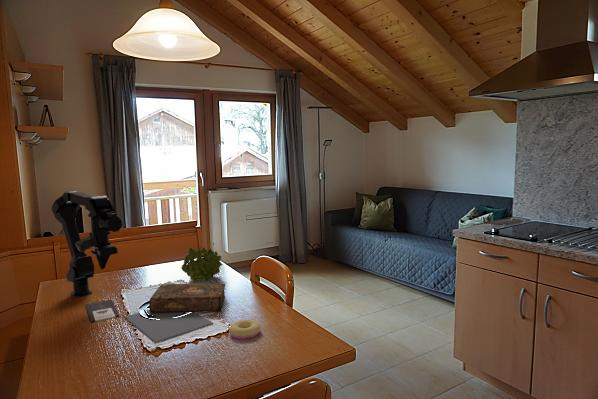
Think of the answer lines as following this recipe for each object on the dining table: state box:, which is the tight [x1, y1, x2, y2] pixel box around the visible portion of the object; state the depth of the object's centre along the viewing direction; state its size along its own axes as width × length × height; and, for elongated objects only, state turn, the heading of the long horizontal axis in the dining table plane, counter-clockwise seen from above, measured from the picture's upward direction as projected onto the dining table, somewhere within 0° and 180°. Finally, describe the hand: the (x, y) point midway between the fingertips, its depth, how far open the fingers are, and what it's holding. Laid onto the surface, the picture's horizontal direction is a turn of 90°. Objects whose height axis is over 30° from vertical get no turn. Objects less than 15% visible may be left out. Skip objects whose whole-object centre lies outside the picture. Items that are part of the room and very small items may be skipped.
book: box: [148, 283, 226, 313], centre depth 155 cm, size 16×6×25 cm
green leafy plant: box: [180, 247, 223, 284], centre depth 185 cm, size 18×16×16 cm
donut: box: [228, 319, 261, 340], centre depth 132 cm, size 10×5×9 cm
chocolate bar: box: [85, 299, 120, 323], centre depth 151 cm, size 9×1×18 cm
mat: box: [124, 309, 214, 344], centre depth 142 cm, size 26×20×1 cm
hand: (102, 269), depth 158 cm, fingers closed
